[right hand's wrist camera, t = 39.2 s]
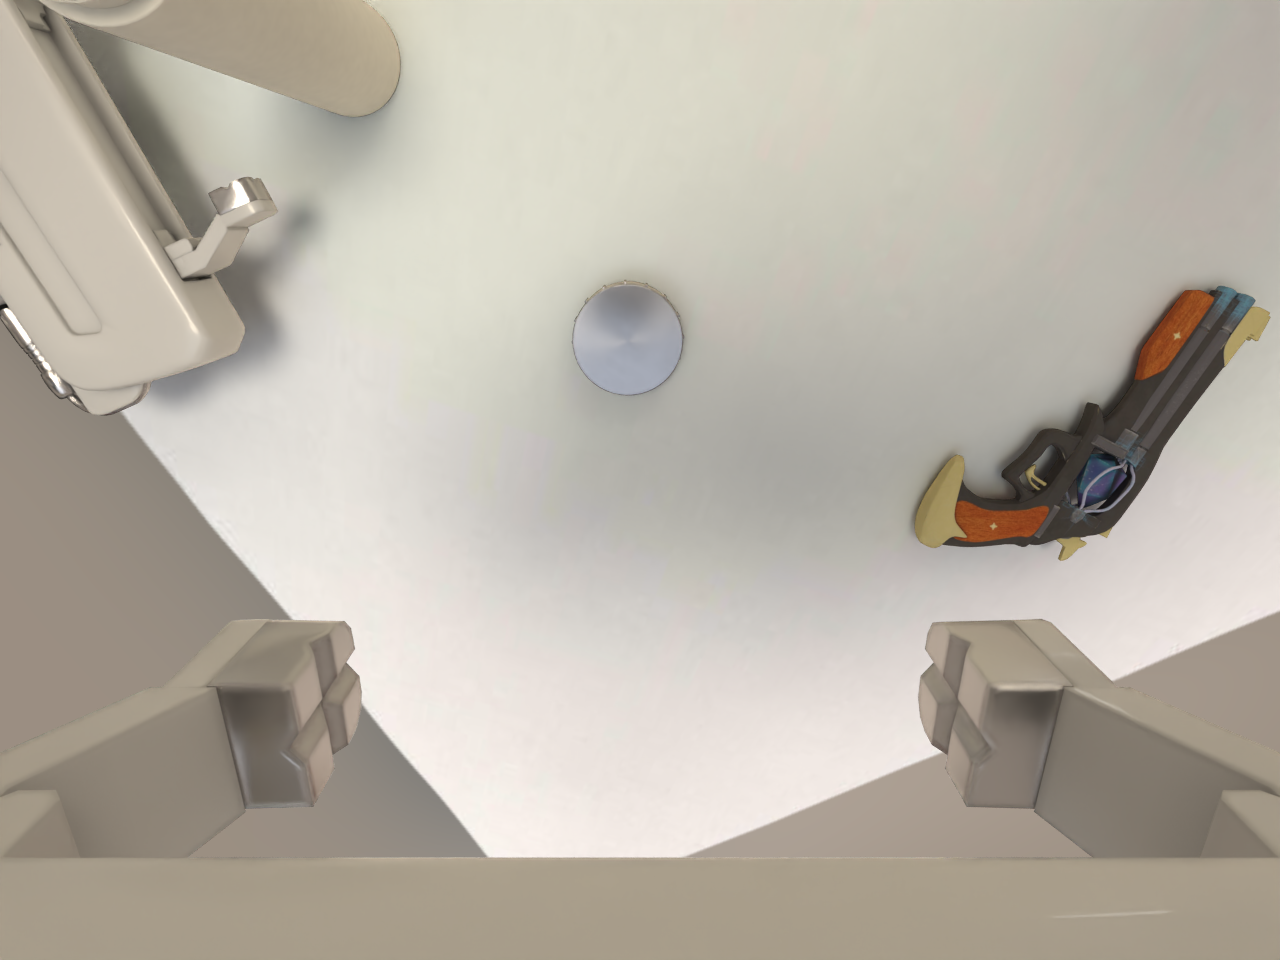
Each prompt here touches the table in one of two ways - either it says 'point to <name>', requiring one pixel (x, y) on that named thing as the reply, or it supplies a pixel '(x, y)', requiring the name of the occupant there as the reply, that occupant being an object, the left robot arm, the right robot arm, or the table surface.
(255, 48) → the beige tall cylinder
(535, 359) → the table surface
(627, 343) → the lid
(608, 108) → the table surface
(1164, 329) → the toy gun
